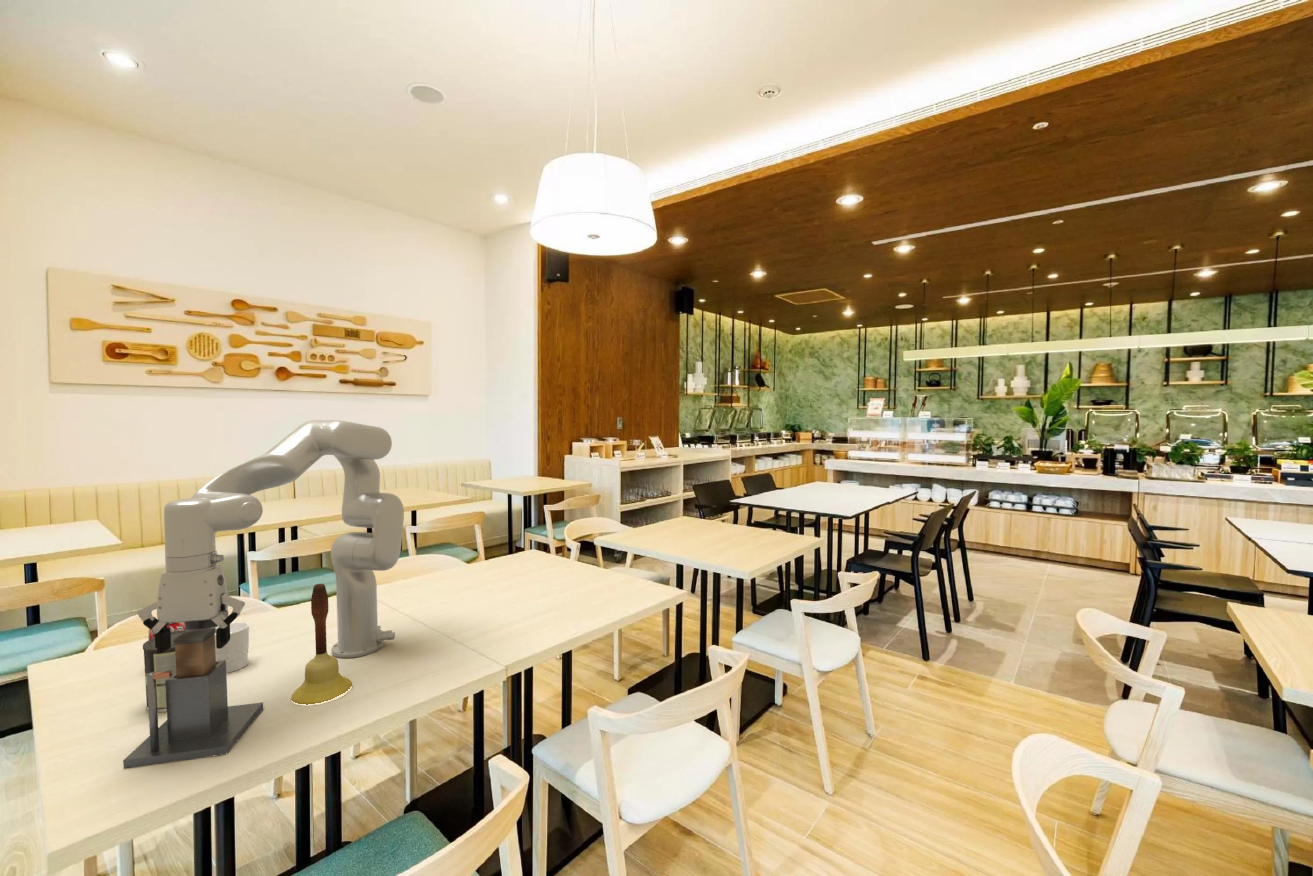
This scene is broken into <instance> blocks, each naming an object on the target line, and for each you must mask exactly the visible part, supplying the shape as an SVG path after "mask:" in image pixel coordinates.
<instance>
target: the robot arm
mask: <svg viewBox="0 0 1313 876" xmlns="http://www.w3.org/2000/svg"><path fill="white" fill-rule="evenodd" d="M392 443H393V442H392V436H391V435H390V434H389V432H388V431H387V430H386V429H384V428H382V427H380V426H374V425H367V424H361V423H356V422H352V421H346V420H334V419H332V420H326V419H325V420H323V419H322V420H321V419H318V420H317V419H314V420H309V421H306V422H303V423H302V424H300V425H299V426H298V427H296V428H295V429H294V430H292V432H290V433H289V434H287V436H285V437H284V438H283V439H282V440H280V441H279V442H278V443H276V445H274V446H273V447H271V448H270V449H269V450H268V451H266V452H264V454H261V455H260V456H257V457H255V458H252V459H250V460H248V461H246V462H244V463H241V464H239V465H237V466H235V467H232V468H230V469H227V470H225V471H224V472H222V473H221V474H219V475H217V476H215V477H214V478H213V479H211V480H209V482H207V483H206V484H205V485H204V486H202V487H201V488H199V489H198V490H197V491H196V492H195V493H194V494H193V495H192V496H191V497H190V498H181V499H176V500H175V499H174V500H172V501H171V500H170V501H168V503H166V504H165V506H164V509H163V524H164V525H163V527H164V556H165V557H164V558H165V559H164V560H165V561H164V562H165V569H164V570H163V571H162V573H161V575H160V579H159V584H158V589H157V596H156V597H157V599H156V601H155V602H154V603H151V604H149V605H147V606H145V607H142V608H141V609H139V610H137V612H136V613H137V615H138V617H139V618H140V620H141V621H142V624H143V626H145V627H146V628H147V629H148V630H149V629H150V630H151V632H152V633H153V634H155V647H156V648H157V654H162V653H163V652H165V651H166V650H168V649H169V648H170V647H171V629H170V628H167V626H168V625H169V624H170V623H179V622H192V621H204V620H212V621H213V622H214V623H215V624H217V625H218V626H219V628H218V629H216V648H218V649H221V648H222V647H224V646H225V645H226V644H227V643H228V641H229V640H230V623H234V621H235V620H236V619H237V618H238V617H239V616H240V615H241V612H242V611H243V609H244V608H245V605H246V602H245V601H243V600H240V599H237V598H235V597H232V596H229V594H228V589H227V588H228V587H227V583H226V577H225V573H224V570H223V567H222V565H221V564H218V563H219V562H223V561H224V558H225V556H224V554H218V551H217V550H216V546H217V545H216V533H218V532H225V531H227V532H229V531H239V530H240V531H241V530H245V529H248V528H251V527H252V526H253V525H255V524H257V522H259V520H260V519H261V517H262V515H263V511H264V509H263V504H262V502H261V501H260V500H259V499H258V498H257V497H255V496H253V495H252V494H255V493H258V492H262V491H264V490H268V489H273V488H277V487H278V488H279V487H280V486H284V485H287V484H290V483H293V482H294V481H295V482H296V480H298V478H300V477H301V476H302V475H303V474H304V473H306V471H308V470H309V468H311V467H312V466H313V465H314V464H315V463H317V461H319V460H320V459H321V458H322V457H324V456H333V457H335V458H336V460H337V461H338V462H339V463H340V465H341V467H342V469H343V473H344V474H343V475H344V485H343V492H342V493H343V495H342V503H341V504H342V505H341V520H342V522H343V523H344V524H345V525H347V526H350V527H354V528H365V529H373V532H359V531H351V532H350V531H349V532H346V533H342V534H341V535H339V536H337V537H336V539H334V541H332V544H331V547H330V558H331V559H330V560H331V563H332V566H333V570H334V575H335V584H336V585H335V586H336V587H335V588H336V616H337V617H336V618H337V621H336V623H337V624H336V625H337V642H336V643H335V644H334V645H332V646H331V650H330V651H331V654H332V656H334V657H335V658H341V659H342V658H343V659H346V658H347V659H348V658H350V657H351V658H358V657H363V656H366V655H369V654H372V653H374V651H375V652H376V650H377V651H378V650H380V649H381V648H383V646H384V645H385V641H390V640H391V641H393V640H395V638H396V632H395V631H394V632H393V630H392V629H390V630H389V629H388V630H383V629H382V626H381V625H378V623H379V622H378V597H377V596H378V595H377V594H378V593H377V591H378V590H377V589H378V588H377V587H378V585H377V579H376V574H375V572H374V571H377V572H378V571H379V572H382V571H389V570H390V569H392V568H394V567H395V566H396V564H397V562H398V561H399V559H400V555H401V551H402V540H403V529H404V521H405V520H404V519H405V509H404V506H403V501H402V500H401V499H400V498H399V496H397V495H396V494H394V493H389V492H380V485H381V484H380V482H381V481H380V480H381V472H380V468H379V466H378V464H377V462H376V461H375V460H382V459H383V458H386V456H387V455H388V454H389V453H390V451H391V449H392V447H393V445H392ZM229 607H231V608H232V611H231V613H230V614H229V615H228V614H227V613H226V612H225V611H226V610H227V609H228V610H229ZM155 610H156V616H157V618H156V617H155V616H153V614H152V612H153V611H155Z"/></svg>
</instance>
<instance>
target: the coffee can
mask: <svg viewBox="0 0 1313 876" xmlns="http://www.w3.org/2000/svg"><path fill="white" fill-rule="evenodd" d="M191 630H195V629H191ZM186 631H187V630H181V631H175V632H171V647H170V648H169V649H168V650H166V651H165V652H163V653H162V654H157V648H156V647H155V637H154V638H152V639H150V640H147V641H145V642H144V643H143V644H142V650H143V660H144V676H145V677H144V678H145V679H144V681H145V697H146V698H145V699H146V707H145V709H146V710H147V711H148V712H149V708H148V688H147V674H148V673H150V672H162V671H172V675H173V674H174V673H175V672H176V656H175V645H174V644H173V640H174V639H176V638H177V637H178V636H180V635H181V634H183V633H184V632H186ZM167 679H168V678H162V679H156V691H157V711H158V713H167V705H166V685H165V680H167Z"/></svg>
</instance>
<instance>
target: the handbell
mask: <svg viewBox="0 0 1313 876" xmlns="http://www.w3.org/2000/svg"><path fill="white" fill-rule="evenodd" d="M310 598H311V599H310V608H311V609H310V610H311V616H312V618H313V621H314V634H315V655H314V657H313V658H312V659H311V660H310V661H308V662H307V664H306V665H305V667H304V681H303V683H302V684H301V685H300V686H299V687H298V688H297V689H295V691H293V693H292V695H291V696H292V698H291V697H290V701H291V700H292V701H293V702H295V703H298V704H306V705H308V704H315V703H321V702H324V701H328V700H331V699H333V698H335V697H337V696H339V695H341V694H343V693H345V692H346V691H348V689H350V687H351V686H352V683H353V681H352V680H350V679H349V678H348V677H346V676H343V675H342V674H341V673H340V672H339V669H340V667H339V660H338V659H337V657H336V656H334V655H330V654H329V653H328V650H327V649H328V647H327V646H328V645H327V617H328V614H329V595H328V591H327V588H326V585H325V584H324V583H317V584H314V585H313V587H312V594H311V597H310Z"/></svg>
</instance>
